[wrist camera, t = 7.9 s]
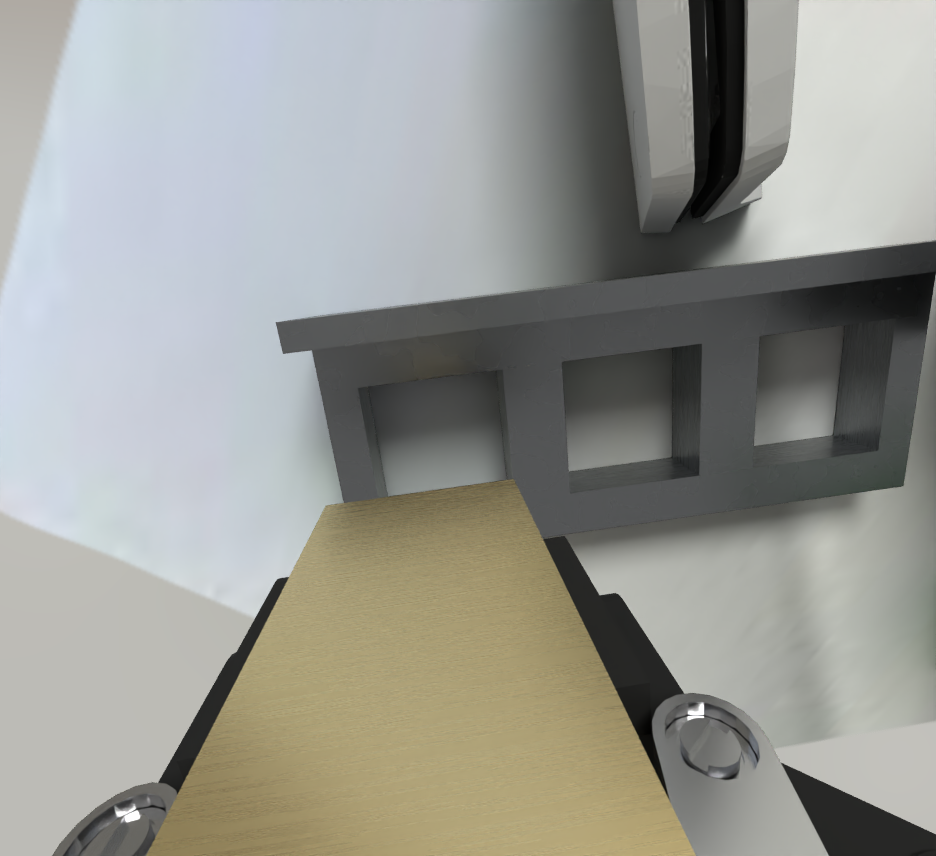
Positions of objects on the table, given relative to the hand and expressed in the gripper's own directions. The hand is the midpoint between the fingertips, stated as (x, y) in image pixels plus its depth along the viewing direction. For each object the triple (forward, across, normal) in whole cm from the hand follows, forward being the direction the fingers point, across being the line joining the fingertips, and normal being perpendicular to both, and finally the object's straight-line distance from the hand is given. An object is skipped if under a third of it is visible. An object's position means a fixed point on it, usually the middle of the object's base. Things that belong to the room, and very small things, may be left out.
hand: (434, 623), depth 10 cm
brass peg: (+2, 0, 0) cm, 2 cm away
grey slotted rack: (+13, -9, 0) cm, 16 cm away
